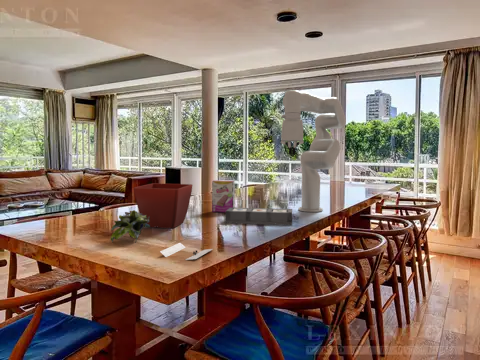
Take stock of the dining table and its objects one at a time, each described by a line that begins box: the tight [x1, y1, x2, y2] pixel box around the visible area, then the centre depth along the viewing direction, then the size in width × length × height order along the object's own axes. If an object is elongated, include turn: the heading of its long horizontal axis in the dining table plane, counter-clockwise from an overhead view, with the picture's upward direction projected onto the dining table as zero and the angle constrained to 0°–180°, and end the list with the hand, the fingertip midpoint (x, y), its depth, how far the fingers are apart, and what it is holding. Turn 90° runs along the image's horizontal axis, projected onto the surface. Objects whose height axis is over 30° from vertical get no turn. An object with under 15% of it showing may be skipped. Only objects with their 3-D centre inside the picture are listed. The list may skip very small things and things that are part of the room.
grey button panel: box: [224, 207, 293, 226], centre depth 163 cm, size 14×29×5 cm, turn 81°
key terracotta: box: [253, 209, 267, 212], centre depth 163 cm, size 6×6×3 cm
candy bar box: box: [211, 179, 236, 213], centre depth 187 cm, size 11×5×16 cm, turn 84°
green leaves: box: [109, 209, 151, 244], centre depth 127 cm, size 13×12×14 cm
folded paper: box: [159, 242, 213, 261], centre depth 111 cm, size 12×12×2 cm
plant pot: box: [133, 182, 193, 229], centre depth 153 cm, size 19×19×17 cm
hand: (292, 156), depth 172 cm, fingers closed
